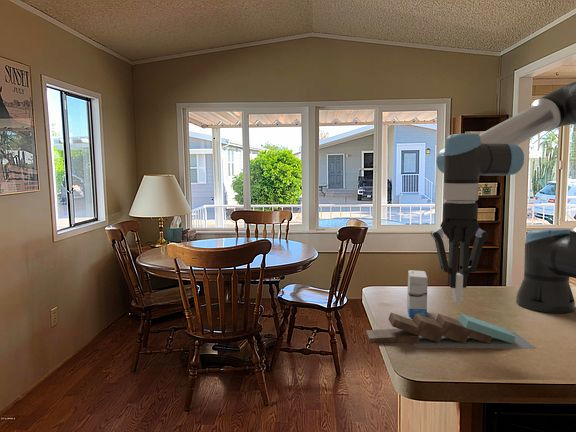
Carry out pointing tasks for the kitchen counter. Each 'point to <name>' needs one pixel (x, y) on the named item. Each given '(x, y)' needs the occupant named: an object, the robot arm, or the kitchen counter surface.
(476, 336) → the tile
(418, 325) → the tile
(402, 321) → the tile
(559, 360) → the kitchen counter surface
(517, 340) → the mat
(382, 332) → the tile
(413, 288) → the ink box
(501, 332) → the teal tile
